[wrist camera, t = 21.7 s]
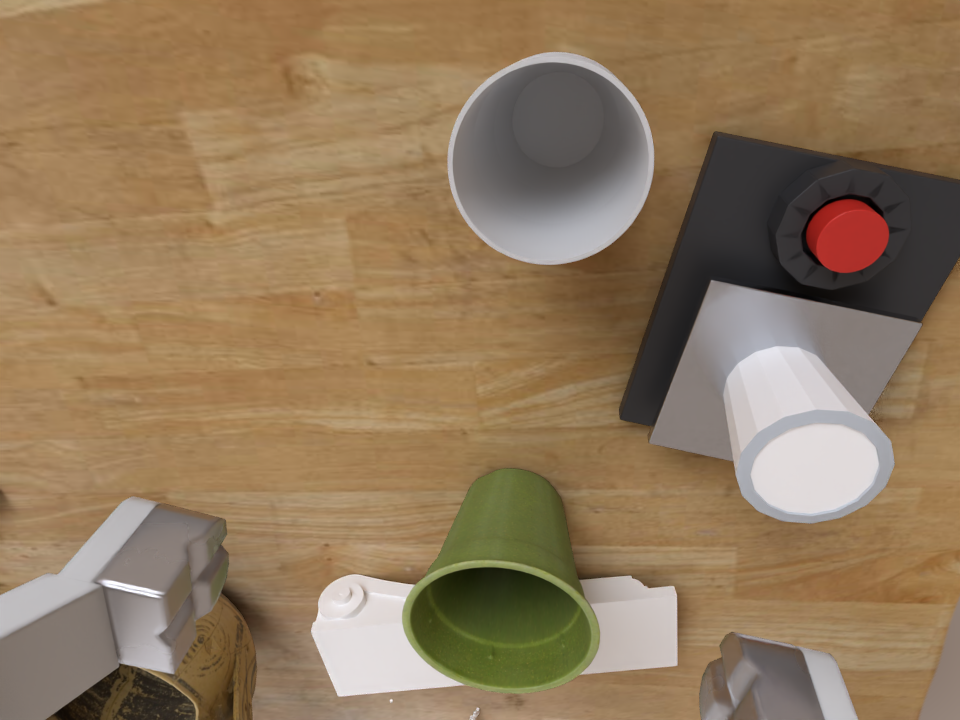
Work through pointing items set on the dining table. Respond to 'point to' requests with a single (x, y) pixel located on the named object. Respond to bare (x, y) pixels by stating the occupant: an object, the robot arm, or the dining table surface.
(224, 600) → the ceramic bowl
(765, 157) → the scale
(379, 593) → the thin cream plank
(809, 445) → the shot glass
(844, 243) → the button
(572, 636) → the plant pot
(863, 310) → the scale platter
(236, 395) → the dining table surface
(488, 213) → the cup
